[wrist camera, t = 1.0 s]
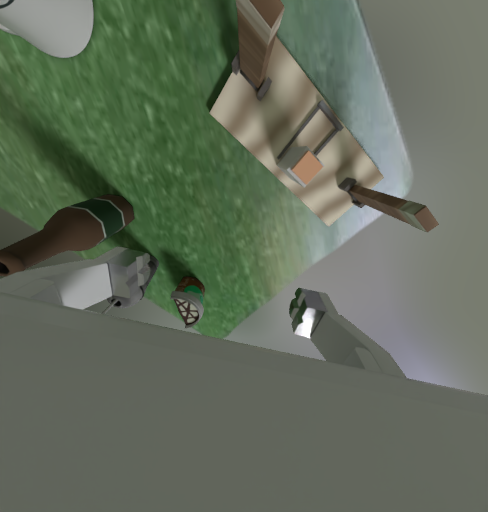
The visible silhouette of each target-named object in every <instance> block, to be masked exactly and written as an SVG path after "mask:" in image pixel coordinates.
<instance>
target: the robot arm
mask: <svg viewBox="0 0 488 512" xmlns="http://www.w3.org/2000/svg"><path fill="white" fill-rule="evenodd" d="M92 28H93V3H92V0H0V29H2V30H3V31H5V32H8V33H11V34H14V35H18V36H21V37H22V38H24V39H25V40H27V41H28V42H29V43H31V44H32V45H34V46H35V47H36V48H38V49H40V50H41V51H43V52H45V53H47V54H49V55H52V56H55V57H61V58H68V57H72V56H75V55H77V54H79V53H80V52H81V51H82V50H83V49H84V48H85V47H86V45H87V43H88V41H89V39H90V36H91V33H92ZM149 261H150V255H149V254H148V253H144V252H140V251H136V250H132V249H128V248H124V247H115V248H113V249H112V250H110V251H108V252H106V253H104V254H103V255H101V256H99V257H97V258H95V259H93V260H91V259H88V260H82V261H77V262H71V263H66V264H60V265H54V266H49V267H43V268H38V269H32V270H26V271H21V272H16V273H14V274H11V275H9V276H7V277H5V278H2V279H0V512H488V395H484V394H479V393H474V392H469V391H465V390H460V389H455V388H450V387H446V386H441V385H436V384H431V383H426V382H422V381H417V380H413V379H408V378H406V376H405V375H404V373H403V372H402V370H401V369H400V368H399V366H398V365H397V363H396V362H395V361H394V359H393V358H392V357H391V355H390V354H389V353H388V352H387V351H385V350H384V349H383V348H382V347H381V346H379V345H378V344H377V343H376V342H374V341H373V340H372V339H371V338H369V337H368V336H367V335H365V334H364V333H363V332H362V331H361V330H359V329H358V328H357V327H356V326H354V325H353V324H352V323H351V322H349V321H348V320H347V319H345V318H344V317H343V316H342V315H339V314H338V312H337V311H336V309H335V307H334V305H333V303H332V302H331V300H330V298H329V296H328V295H327V294H326V293H322V292H317V291H312V290H307V289H302V288H298V289H297V290H296V292H295V295H296V298H294V299H293V300H292V301H291V304H290V309H289V310H290V311H289V314H290V317H291V318H292V319H293V322H292V328H293V332H294V334H296V335H300V336H305V337H309V338H310V339H311V341H312V342H313V343H314V345H315V346H316V347H317V349H318V350H319V351H320V353H321V354H322V355H323V357H324V358H325V359H326V361H322V360H318V359H313V358H308V357H304V356H299V355H294V354H290V353H285V352H280V351H276V350H271V349H266V348H262V347H257V346H252V345H248V344H243V343H238V342H233V341H229V340H224V339H219V338H215V337H210V336H205V335H200V334H196V333H191V332H186V331H181V330H177V329H172V328H167V327H162V326H158V325H153V324H148V323H143V322H139V321H134V320H129V319H125V318H120V317H115V316H110V315H106V314H101V313H96V312H91V311H87V310H82V309H84V308H87V307H89V306H91V305H93V304H95V303H98V302H100V301H102V300H104V299H107V298H109V297H111V296H112V295H115V296H120V297H125V298H131V297H132V296H133V295H134V294H135V293H136V292H137V291H138V290H139V289H138V287H139V286H141V285H144V284H145V283H146V282H147V280H148V278H149V276H150V267H149V266H148V263H149Z"/></svg>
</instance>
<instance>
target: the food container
mask: <svg viewBox="0 0 488 512" xmlns="http://www.w3.org/2000/svg"><path fill="white" fill-rule="evenodd" d="M204 292H205V288H204V285H203V284H202V283H201V282H200V281H199V280H198V279H196V278H193V277H183V279H182V280H181V282H180V283H179V285H178V287H177V288H176V290H175V291H172V294H171V298H170V299H174V301H175V303H176V305H177V308H178V311H179V313H180V315H181V316H182V318H183V320H184V322H185V324H186V326H185V328H189V327H192V326H194V325H195V324H197V322H198V321H199V320H200V318H201V317H202V315H203V306H202V303H203V297H204Z"/></svg>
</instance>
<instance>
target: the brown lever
mask: <svg viewBox="0 0 488 512" xmlns="http://www.w3.org/2000/svg"><path fill="white" fill-rule="evenodd" d="M236 6H237V14H238V34H239V54H240V74H241V75H242V76H243V77H244V78H245V79H246V80H247V81H248V83H249V84H250V85H251V86H252V87H253V88H254V89H255V90H256V91H257V92H258V90H259V89H260V87H261V86H262V84H263V82H264V78H265V74H266V71H267V67H268V63H269V60H270V56H271V52H272V49H273V45H274V41H275V38H276V34H277V30H278V28H279V26H280V22H281V19H282V15H283V12H284V5H283V4H282V2H281V1H280V0H236Z"/></svg>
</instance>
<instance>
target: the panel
mask: <svg viewBox="0 0 488 512" xmlns="http://www.w3.org/2000/svg"><path fill="white" fill-rule="evenodd" d="M231 64H232V71H233V72H232V73H231V75H230V77H229V79H228V81H227V82H226V84H225V86H224V88H223V90H222V91H221V93H220V95H219V97H218V99H217V100H216V102H215V104H214V106H213V108H212V109H211V111H210V114H211V115H212V116H213V117H214V118H215V119H216V120H217V121H218V122H219V123H220V124H221V125H222V126H224V127H225V128H226V129H227V130H228V131H229V132H230V133H231V134H232V135H233V136H234V137H235V138H236V139H237V140H238V141H239V142H240V143H241V144H242V145H243V146H245V147H246V148H247V149H248V150H249V151H250V152H251V153H252V154H253V155H254V156H255V157H256V158H257V159H258V160H259V161H260V162H261V163H262V164H263V165H264V166H265V167H267V168H268V169H269V170H270V171H271V172H272V173H273V174H274V175H275V176H276V177H277V178H278V179H279V180H280V181H281V182H282V183H283V184H284V185H285V186H286V187H288V188H289V189H290V190H291V191H292V192H293V193H294V194H295V195H296V196H297V197H298V198H299V199H300V200H301V201H302V202H303V203H304V204H305V205H306V206H307V207H308V208H310V209H311V210H312V211H313V212H314V213H315V214H316V215H317V216H318V217H319V218H320V219H321V220H322V221H323V222H324V223H325V224H326V225H327V226H330V225H331V224H332V223H334V222H335V221H336V220H337V219H338V218H339V217H340V216H341V215H342V214H344V213H345V212H346V211H347V210H348V209H349V208H350V207H351V206H353V205H356V206H358V207H360V208H362V207H363V206H364V205H365V204H363V203H360V202H359V201H357V202H356V201H355V200H354V199H353V198H352V197H351V196H350V195H349V194H348V193H347V191H348V190H349V189H350V188H351V187H352V186H353V185H354V184H355V185H358V186H361V187H364V188H367V189H372V188H373V187H374V186H375V185H376V184H377V183H378V182H379V181H381V180H382V179H383V178H384V176H383V175H382V174H381V173H380V171H379V170H378V169H377V167H376V166H375V165H374V163H373V162H372V161H371V159H370V158H369V157H368V156H367V154H366V153H365V152H364V150H363V149H362V148H361V146H360V145H359V144H358V142H357V141H356V140H355V139H354V137H353V136H352V135H351V133H350V132H349V131H348V129H347V128H346V127H345V125H344V124H343V123H342V122H341V120H340V119H339V118H338V116H337V115H336V114H335V112H334V111H333V110H332V108H331V107H330V106H329V105H328V103H327V102H326V101H325V99H324V98H323V97H322V95H321V94H320V93H319V91H318V90H317V89H316V88H315V86H314V85H313V84H312V82H311V81H310V80H309V78H308V77H307V76H306V74H305V73H304V72H303V70H302V69H301V68H300V67H299V65H298V64H297V63H296V61H295V60H294V59H293V57H292V56H291V55H290V53H289V52H288V51H287V50H286V48H285V47H284V46H283V44H282V43H281V42H280V40H279V39H278V38H277V36H276V38H275V41H274V45H273V49H272V52H271V56H270V60H269V63H268V67H267V71H266V74H265V78H264V82H263V84H262V86H261V87H260V89H259V90H258V92H257V91H256V90H255V89H254V88H253V87H252V86H251V85H250V84H249V83H248V81H247V80H246V79H245V78H244V77H243V76H242V75H241V74H240V54H239V51H238V52H237V54H236V56H235V58H234V60H233V62H232V63H231ZM301 146H308V148H309V149H310V150H311V151H312V152H313V153H314V154H315V155H316V156H317V158H318V159H319V160H320V161H321V162H322V163H323V164H324V165H325V166H324V167H323V168H322V169H321V170H320V171H319V172H318V174H317V175H316V176H315V177H314V178H313V179H312V180H311V181H310V182H309V183H308V184H307V185H306V186H305V188H304V187H303V186H301V185H299V184H298V183H296V182H294V181H293V180H291V179H290V178H289V177H288V176H287V175H286V174H285V173H284V172H283V171H282V170H281V169H280V168H279V167H278V166H277V164H278V163H279V162H280V161H281V159H282V158H283V157H284V156H285V154H286V153H287V152H288V151H289V149H290V148H291V147H301Z"/></svg>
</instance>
